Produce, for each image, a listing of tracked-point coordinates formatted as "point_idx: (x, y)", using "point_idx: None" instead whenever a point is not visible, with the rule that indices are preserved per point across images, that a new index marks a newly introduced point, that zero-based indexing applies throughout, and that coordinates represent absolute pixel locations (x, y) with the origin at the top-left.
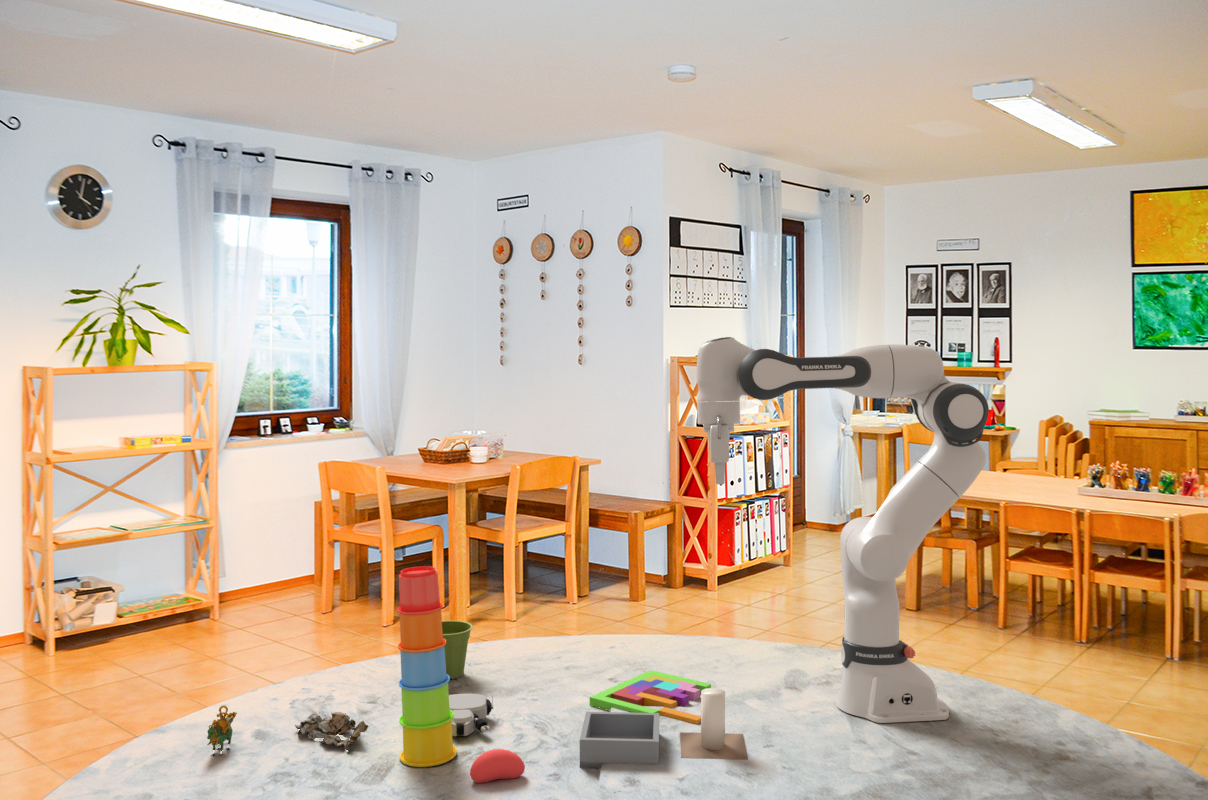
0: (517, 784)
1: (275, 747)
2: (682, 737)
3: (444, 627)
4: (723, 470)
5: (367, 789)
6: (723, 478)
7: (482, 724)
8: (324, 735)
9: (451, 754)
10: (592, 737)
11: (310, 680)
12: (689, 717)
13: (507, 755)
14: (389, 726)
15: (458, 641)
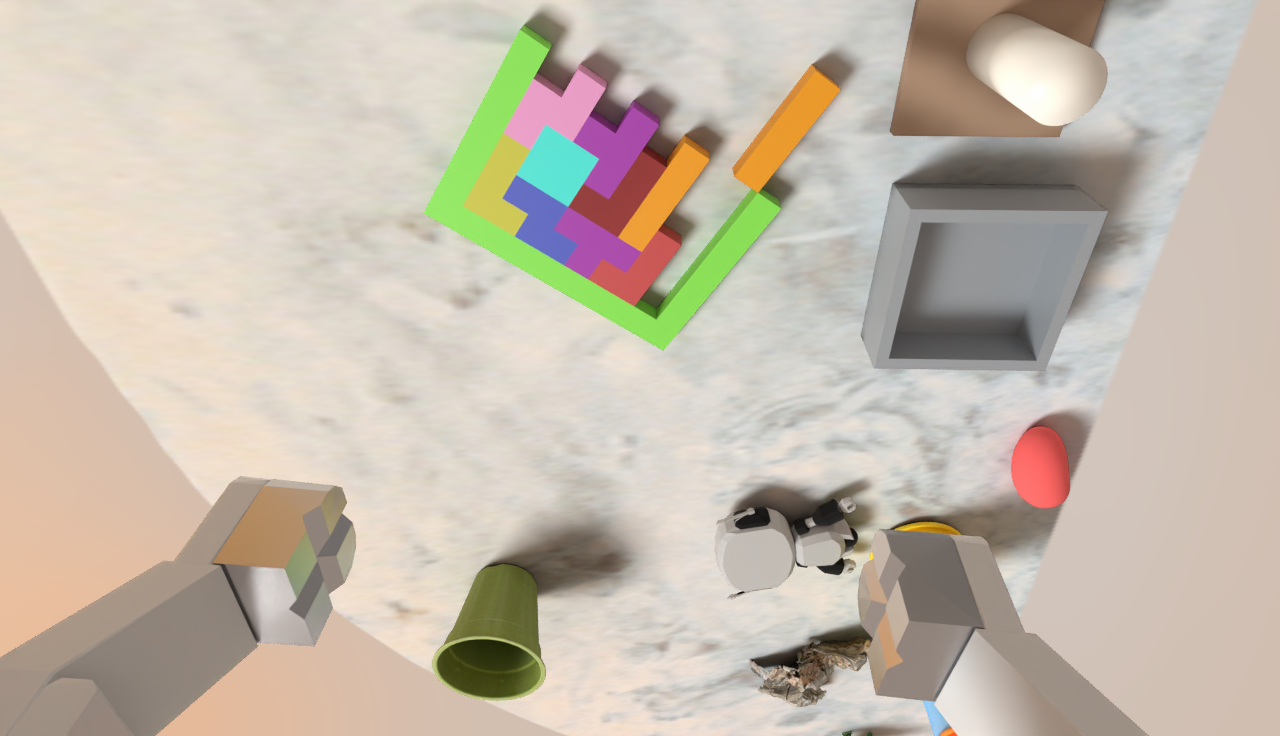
0: (1068, 426)
1: (848, 698)
2: (928, 130)
3: (448, 666)
4: (1119, 728)
5: (1025, 593)
6: (1000, 600)
7: (841, 513)
8: (828, 670)
9: (934, 528)
10: (896, 328)
11: (567, 722)
12: (816, 110)
13: (1062, 472)
14: (775, 611)
15: (525, 633)
